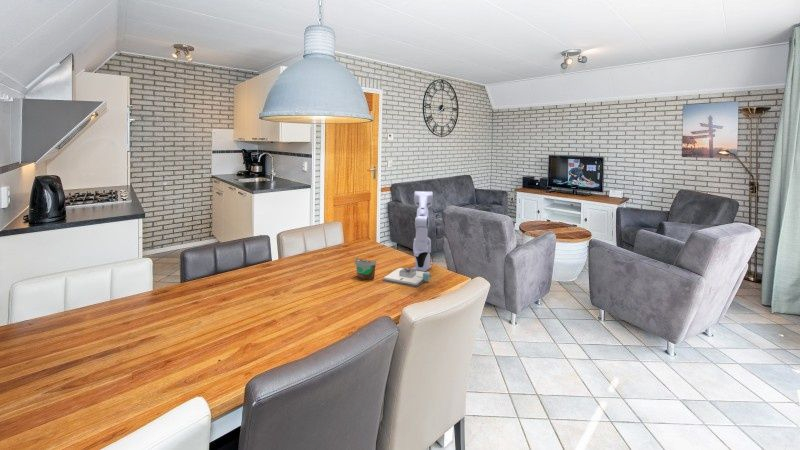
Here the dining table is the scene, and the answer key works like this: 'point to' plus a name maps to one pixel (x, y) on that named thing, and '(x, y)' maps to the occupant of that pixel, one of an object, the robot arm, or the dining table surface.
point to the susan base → (404, 283)
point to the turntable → (413, 280)
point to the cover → (407, 272)
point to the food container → (365, 269)
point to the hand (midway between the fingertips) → (420, 267)
